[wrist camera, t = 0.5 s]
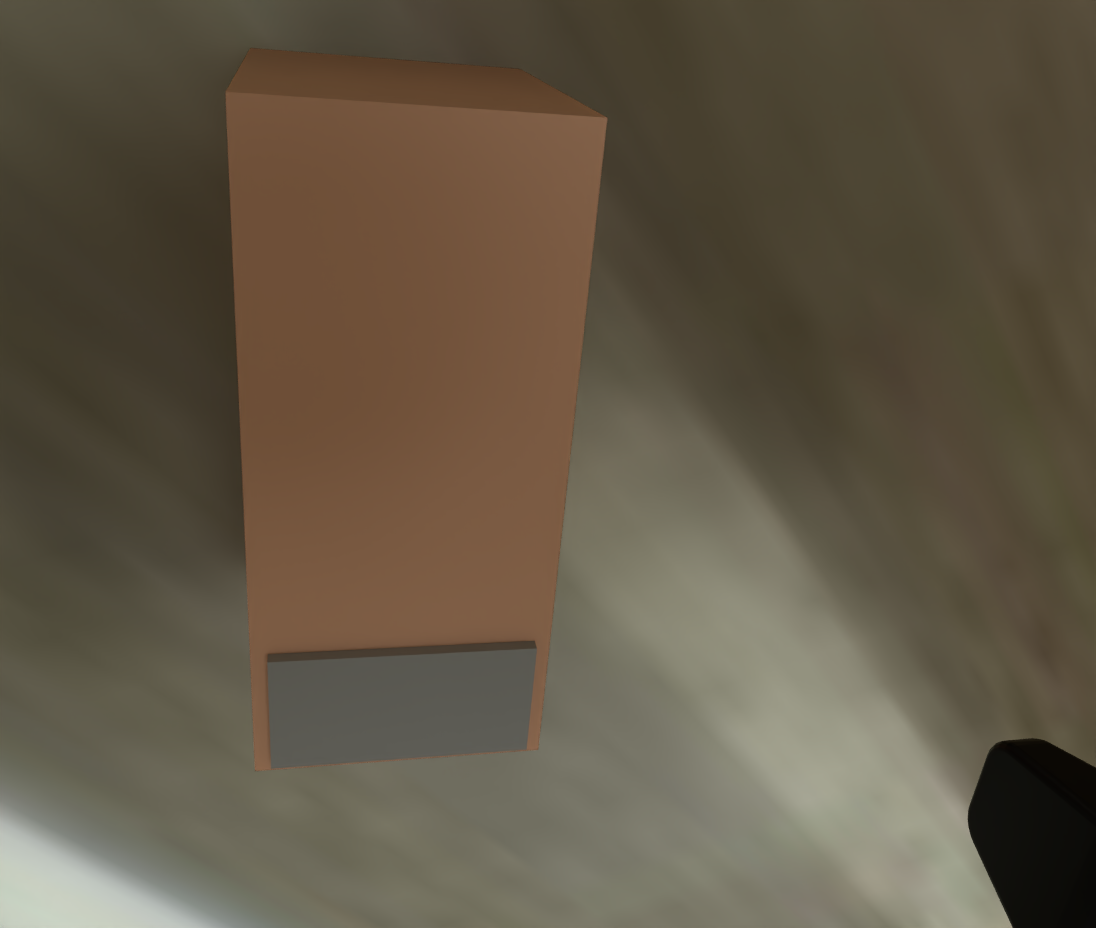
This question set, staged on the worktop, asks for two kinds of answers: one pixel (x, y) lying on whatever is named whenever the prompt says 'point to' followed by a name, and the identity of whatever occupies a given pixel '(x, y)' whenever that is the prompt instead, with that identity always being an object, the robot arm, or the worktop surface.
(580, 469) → the worktop surface
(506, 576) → the terracotta block
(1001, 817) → the robot arm
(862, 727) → the worktop surface
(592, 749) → the worktop surface
